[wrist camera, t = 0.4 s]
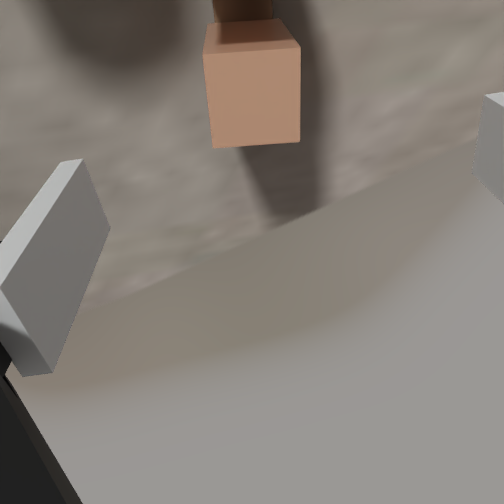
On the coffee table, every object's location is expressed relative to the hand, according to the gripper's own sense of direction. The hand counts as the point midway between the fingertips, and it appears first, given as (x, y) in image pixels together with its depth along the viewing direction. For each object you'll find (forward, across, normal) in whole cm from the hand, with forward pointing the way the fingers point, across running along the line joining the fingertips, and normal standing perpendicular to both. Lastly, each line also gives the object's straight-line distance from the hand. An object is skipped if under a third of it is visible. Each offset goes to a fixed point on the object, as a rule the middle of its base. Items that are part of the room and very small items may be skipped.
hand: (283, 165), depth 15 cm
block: (+20, -1, -1) cm, 20 cm away
